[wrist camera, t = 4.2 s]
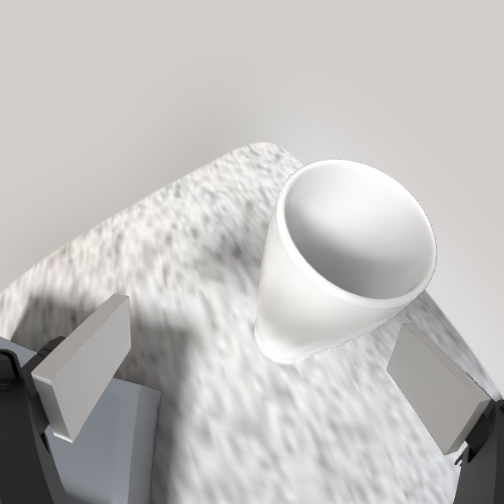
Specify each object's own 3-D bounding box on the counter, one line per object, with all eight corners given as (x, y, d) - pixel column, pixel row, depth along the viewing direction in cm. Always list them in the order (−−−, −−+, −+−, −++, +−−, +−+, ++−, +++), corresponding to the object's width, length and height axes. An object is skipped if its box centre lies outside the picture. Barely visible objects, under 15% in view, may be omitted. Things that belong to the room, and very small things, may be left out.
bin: (161, 391, 19) (140, 384, 14) (147, 558, 11) (128, 590, 6) (8, 342, 19) (-31, 320, 14) (-5, 487, 11) (-44, 490, 6)
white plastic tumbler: (335, 310, 24) (436, 193, 11) (313, 385, 21) (437, 333, 8) (261, 283, 25) (301, 137, 12) (230, 356, 21) (244, 263, 9)
